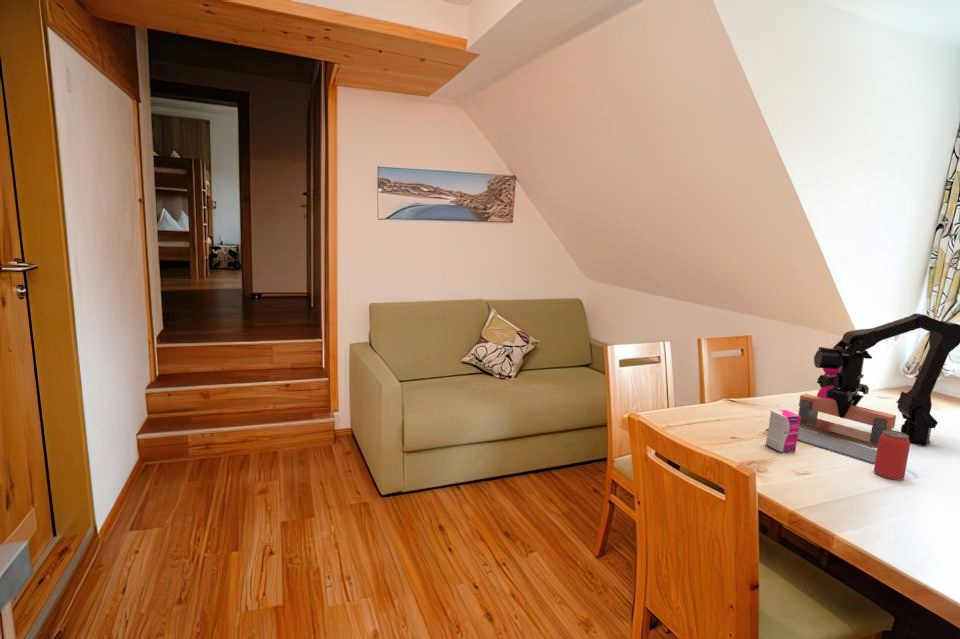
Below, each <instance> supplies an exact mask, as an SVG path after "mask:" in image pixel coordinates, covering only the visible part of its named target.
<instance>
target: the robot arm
mask: <svg viewBox="0 0 960 639" xmlns="http://www.w3.org/2000/svg"><path fill="white" fill-rule="evenodd" d="M917 329H922V330H925V331H927V332H929V334H928V335H929V336H928V343H929V348H928V351H927V353H926V355H925V357H924V359H923V363H922V365H921V367H920V369H919V370H918V373H917V377H916V378H915V381H914V383H913V386H912V387H911V389H910V390H909V391H907V392H905V391H901V392H900V396H899V398H898V400H897V401H896V404H897V409H898V412H900V413H901V416H902V418H903V419H904V423H903V424H901V428H900V429H901V430H900V432H902V433H905V434H907V435H908V436H909V441H910V444H914V445H917V444H919V445H918V446H921V445H922V447H926V446H928V445H929V444H930V443H931V440H930V437H931V433H932V429H935V428H936V427H937V426H938V424H939V422H938V421H937V420H936V419H935V418H934V416H933V415H932V414H931V411H932V399H931V398H932V397H931V396H932V392H933V391H934V388H935V386H936V384H937V381H938V379H939V376H940V374H941V372H942V370H943V367H944V365H945V363H946V361H947V358H948V356H949V354H950V353H951V352H952V351H953V350H954V349H956V348H957V347H958V346H960V324H958V323H955V322H951V321H946V320H938V319H936V318H932V317H929V316H928V315H926V314H922V313H917V312H916V313H912V314H910V315H909V316H906V317H902V318H900V319H897V320H893V321H890V322H888V323H884V324H881V325H879V326H874V327H871V328H862V329H854V330H849V331H847V332H845V333H844V334H843V336H842V338H841V339H840V340H839V341H837V343H836V344H835V345H834V346H833V347H832V348H831V347H830V348H829V347H822V346H819V347H818V349H817V351H816V353H815V355H814V356H813V364H814V366H815V368H816V369H817V368H818V369H823V368H827V369H838V368H840V367H841V369H840V372H838V373H837V374H836V375H833V376H827V375H824V374H820V375H819V376H818V378H817V380H816V383H817V384H819V386H820V388H821V387H825V386H834V388H832V389H829V390H828V391H826V397H828V398H832V399H834V400H835V401H836V403H837V407H838V413H839V417H838V418H841V419H845V418H844V416H845V415H846V413H847V412H848V410H849V408H850V407H851V405H855V406H858V404H859V403H860V402H861V401H862V399H863V398H864V395H868V394H869V391H870V388H869V386H868V385H867V384H864V383H861V380H862V379H863V378H864V374H863V367H864V360H865V359H866V360H867V359H869V360H871V359H873V356H872V355H871V354H869V352H868V351H867V350H868V349H870V348H873V347H874V346H876V345H877V344H878V343H880V342H881V341H884V340H887V339H890V338H892V337H896V336H900V335H903V334H906V333H909V332H911V331H912V332H913V331H916V330H917ZM859 392H860V393H862V394H863V395H861V394H859ZM927 444H928V445H927Z"/></svg>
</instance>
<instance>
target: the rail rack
mask: <svg viewBox="0 0 960 639" xmlns="http://www.w3.org/2000/svg"><path fill="white" fill-rule="evenodd" d="M811 406H812V401H808V400H804V399H801V403H800V407H798V414H797V415H799V416H801V419H800V425H799V428H802V429H806V430H809V429H810V430H809V431H813V432H816V433H820V434H823V435H827V436H830V437H833V438H837V439H840V440H844V441H847V442H851V443H854V444H858V445H861V444H862V445H861V446H865V445H866V446H865V447H868V446H870V447H869V448H872V447H873V448H872V449H875V448H878V442H879V437H880V436H881V434H882V433H883V430H887V429H886V423H887V420H884V419H880V418H876V417H875V418H874V421H873V426H872V427H871V431H870V432H868V431H864V430H861V429H858V428H853V427H850V426H847V425H844V424H843V425H842V424H839V423H835V422H831V421H827V420H823V419H820V418H818V417H819V416H818V415H819V412H818V411H814V410H811ZM891 430H893V429H891Z"/></svg>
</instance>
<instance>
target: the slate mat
mask: <svg viewBox="0 0 960 639" xmlns="http://www.w3.org/2000/svg"><path fill="white" fill-rule="evenodd" d="M767 431H768V428H766V429H765V432H767ZM799 441H800V442H801V443H804V444H806V445H809V444H810V445H809V446H812V445H813V447H817V448H819V449H822V448H823V449H822V450H825V449H826V450H825V451H828V450H830V451H829V452H832V451H833V452H832V453H835V452H836V454H838V453H839V455H841V454H842V456H845V455H846V457H848V456H849V457H848V458H851V457H852V459H855V460H858V461H861V462H865V463H867V464H871V465H875V460H876V454H877V449H875V448H872V447H868V446H865V445H861V444H858V443H854V442H851V441H848V440H844V439H841V438H837V437H834V436H830V435H827V434H823V433H820V432H816V431H813V430H809V429H806V428H803V427H799V431H798V437H797V442H799Z"/></svg>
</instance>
